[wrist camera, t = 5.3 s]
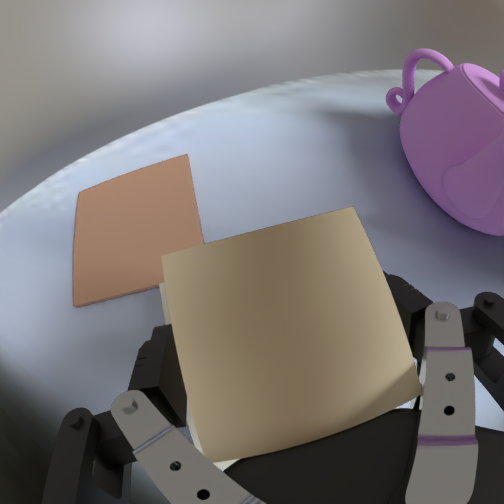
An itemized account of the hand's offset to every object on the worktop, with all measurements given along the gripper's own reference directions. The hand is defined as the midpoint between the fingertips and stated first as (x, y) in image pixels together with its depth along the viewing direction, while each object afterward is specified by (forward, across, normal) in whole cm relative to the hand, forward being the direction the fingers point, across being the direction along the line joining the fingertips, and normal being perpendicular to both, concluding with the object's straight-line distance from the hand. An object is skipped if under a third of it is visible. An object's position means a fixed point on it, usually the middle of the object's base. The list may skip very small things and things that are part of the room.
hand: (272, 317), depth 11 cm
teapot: (+11, -22, 0) cm, 25 cm away
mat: (+14, +9, -3) cm, 17 cm away
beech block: (+4, 0, +6) cm, 8 cm away
